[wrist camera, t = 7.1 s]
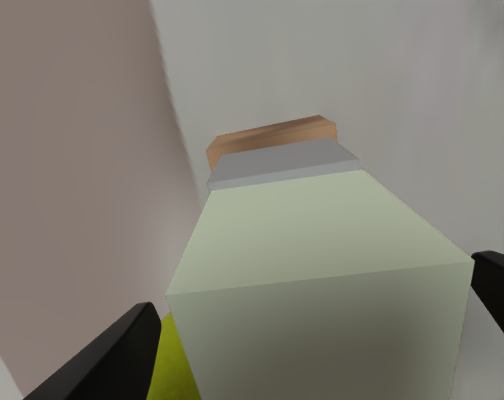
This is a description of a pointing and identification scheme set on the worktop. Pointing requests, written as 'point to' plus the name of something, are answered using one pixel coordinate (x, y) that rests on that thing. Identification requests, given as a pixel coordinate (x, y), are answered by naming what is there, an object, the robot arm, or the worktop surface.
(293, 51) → the worktop surface
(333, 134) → the tower base
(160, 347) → the fruit
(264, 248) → the sage cube
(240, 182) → the tower mid
